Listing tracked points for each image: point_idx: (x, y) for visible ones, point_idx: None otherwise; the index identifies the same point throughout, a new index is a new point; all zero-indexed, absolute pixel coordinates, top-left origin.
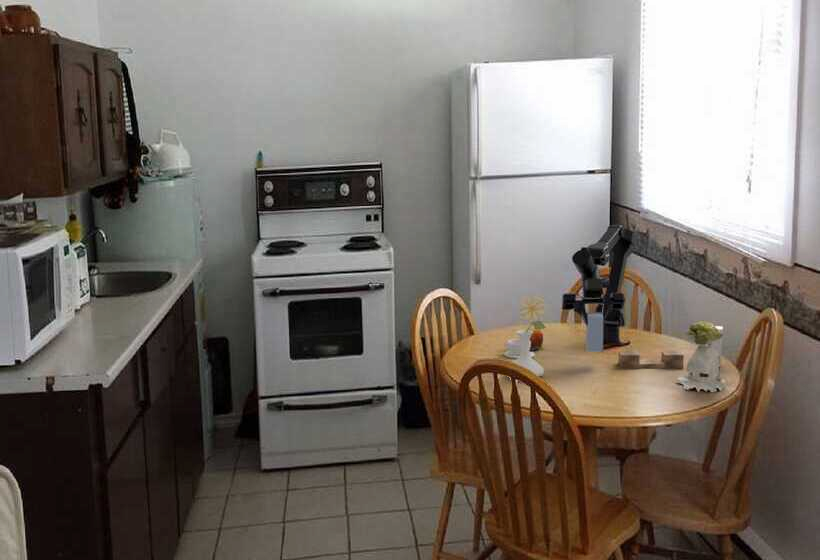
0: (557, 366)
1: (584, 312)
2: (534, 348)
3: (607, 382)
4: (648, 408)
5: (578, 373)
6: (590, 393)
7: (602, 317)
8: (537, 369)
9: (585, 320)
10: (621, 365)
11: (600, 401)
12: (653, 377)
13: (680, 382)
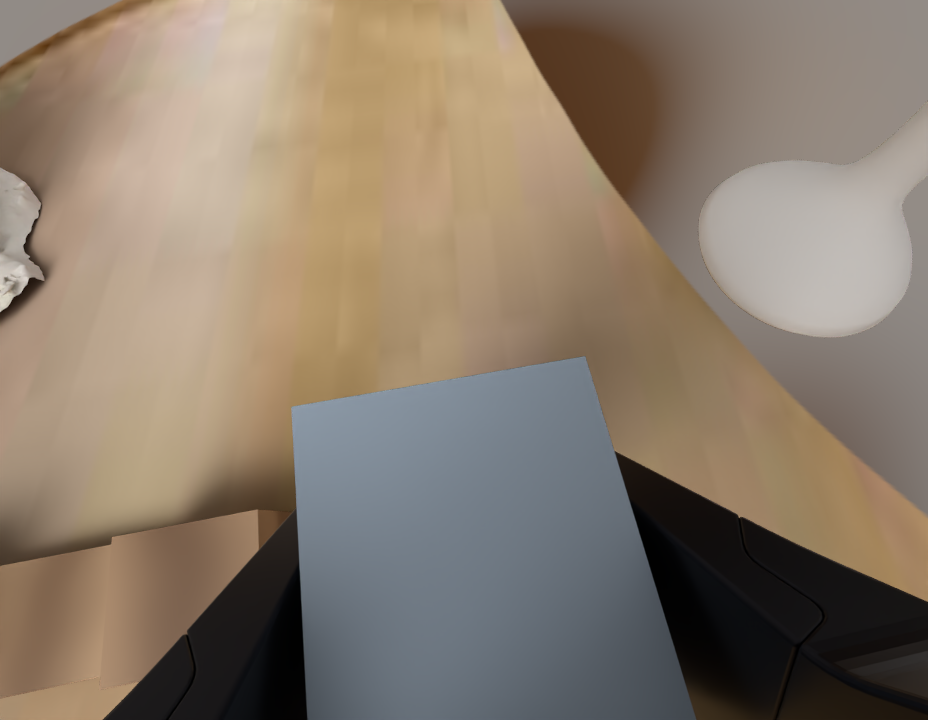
0: (677, 475)
1: (725, 541)
2: None
3: (382, 244)
4: (250, 15)
5: (534, 358)
6: (451, 111)
7: (316, 412)
8: (735, 191)
9: (616, 454)
10: (284, 511)
11: (411, 47)
12: (137, 354)
13: (25, 258)
